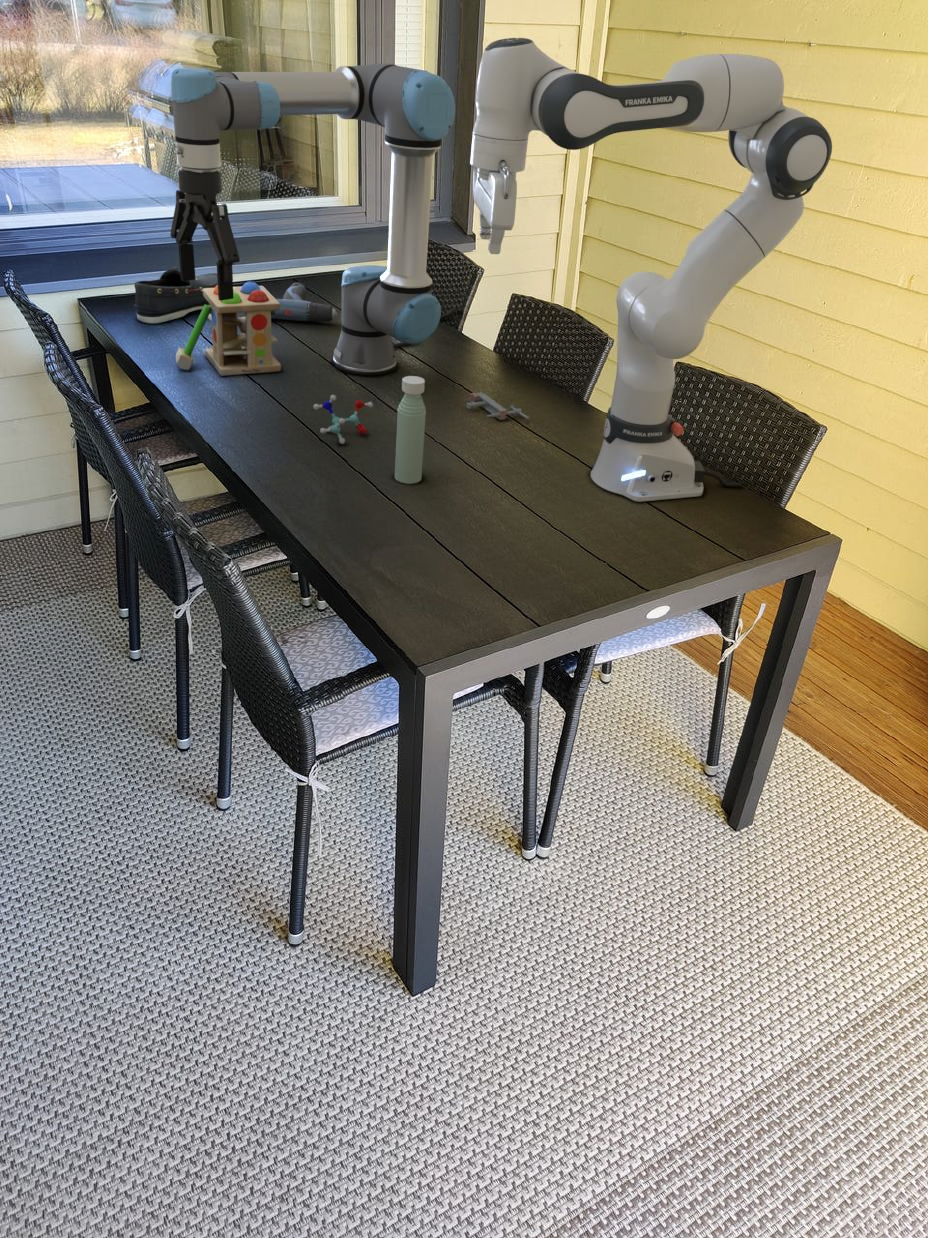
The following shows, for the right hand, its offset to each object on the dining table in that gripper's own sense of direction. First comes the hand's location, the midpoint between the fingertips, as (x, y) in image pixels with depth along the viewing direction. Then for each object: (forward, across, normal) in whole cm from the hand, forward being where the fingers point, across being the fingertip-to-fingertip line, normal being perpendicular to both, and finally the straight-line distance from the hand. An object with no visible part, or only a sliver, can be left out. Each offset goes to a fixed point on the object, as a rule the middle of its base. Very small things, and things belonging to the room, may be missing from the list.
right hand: (489, 245), depth 164 cm
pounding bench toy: (+45, +61, +49) cm, 90 cm away
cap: (+25, +3, +11) cm, 28 cm away
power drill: (+45, +102, +30) cm, 116 cm away
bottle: (+45, +3, +11) cm, 46 cm away
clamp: (+45, +36, -12) cm, 58 cm away
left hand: (+17, +25, +49) cm, 57 cm away
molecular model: (+45, +22, +23) cm, 55 cm away
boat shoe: (+45, +103, +62) cm, 128 cm away
